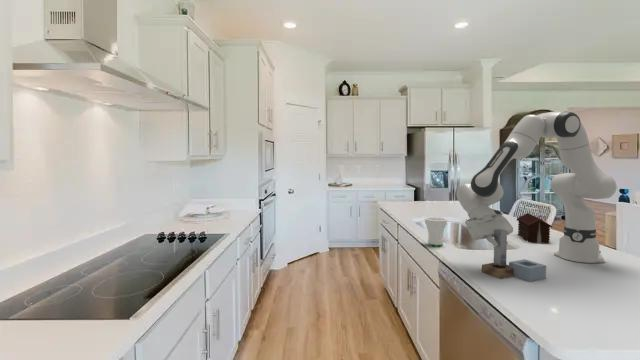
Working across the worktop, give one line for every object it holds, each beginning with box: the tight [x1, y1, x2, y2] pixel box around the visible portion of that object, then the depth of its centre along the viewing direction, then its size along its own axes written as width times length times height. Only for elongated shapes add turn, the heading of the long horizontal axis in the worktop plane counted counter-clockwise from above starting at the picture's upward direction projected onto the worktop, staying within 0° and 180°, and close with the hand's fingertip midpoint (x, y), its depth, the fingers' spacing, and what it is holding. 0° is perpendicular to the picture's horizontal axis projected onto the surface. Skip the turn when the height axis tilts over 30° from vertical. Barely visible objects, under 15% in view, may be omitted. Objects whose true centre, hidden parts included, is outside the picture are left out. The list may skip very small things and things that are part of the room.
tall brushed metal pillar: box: [493, 229, 508, 266], centre depth 143 cm, size 3×3×14 cm
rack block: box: [508, 259, 547, 282], centre depth 140 cm, size 9×9×5 cm
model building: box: [516, 212, 553, 244], centre depth 201 cm, size 21×12×15 cm, turn 166°
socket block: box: [481, 262, 515, 280], centre depth 143 cm, size 9×9×3 cm
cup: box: [424, 216, 448, 248], centre depth 189 cm, size 11×11×14 cm
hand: (501, 245), depth 142 cm, fingers closed on tall brushed metal pillar, 3 cm apart
